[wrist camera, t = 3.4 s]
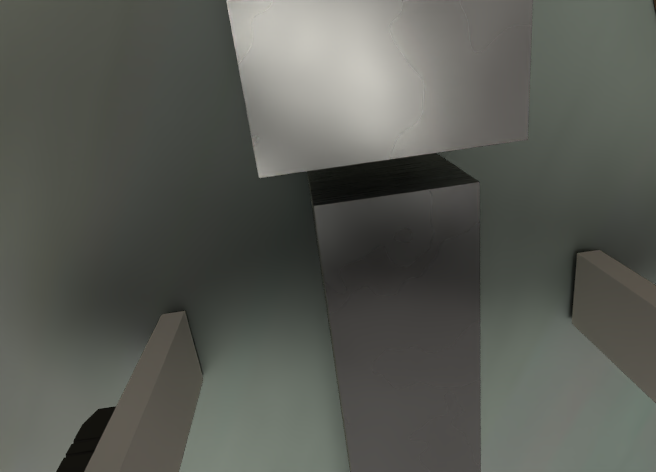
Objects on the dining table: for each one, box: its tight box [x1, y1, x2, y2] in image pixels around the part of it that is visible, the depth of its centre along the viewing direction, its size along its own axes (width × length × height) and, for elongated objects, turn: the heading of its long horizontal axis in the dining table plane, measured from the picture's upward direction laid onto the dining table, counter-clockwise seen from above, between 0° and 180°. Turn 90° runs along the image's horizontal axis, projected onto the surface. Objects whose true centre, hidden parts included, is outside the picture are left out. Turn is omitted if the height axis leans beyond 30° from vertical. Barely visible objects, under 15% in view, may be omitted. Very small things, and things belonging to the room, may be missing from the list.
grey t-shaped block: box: [226, 0, 533, 472], centre depth 14 cm, size 20×6×4 cm, turn 7°
